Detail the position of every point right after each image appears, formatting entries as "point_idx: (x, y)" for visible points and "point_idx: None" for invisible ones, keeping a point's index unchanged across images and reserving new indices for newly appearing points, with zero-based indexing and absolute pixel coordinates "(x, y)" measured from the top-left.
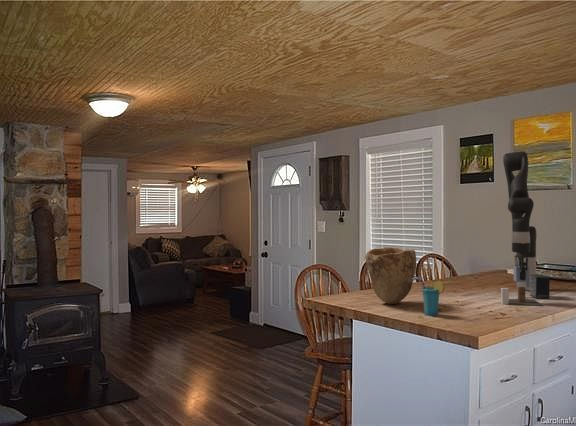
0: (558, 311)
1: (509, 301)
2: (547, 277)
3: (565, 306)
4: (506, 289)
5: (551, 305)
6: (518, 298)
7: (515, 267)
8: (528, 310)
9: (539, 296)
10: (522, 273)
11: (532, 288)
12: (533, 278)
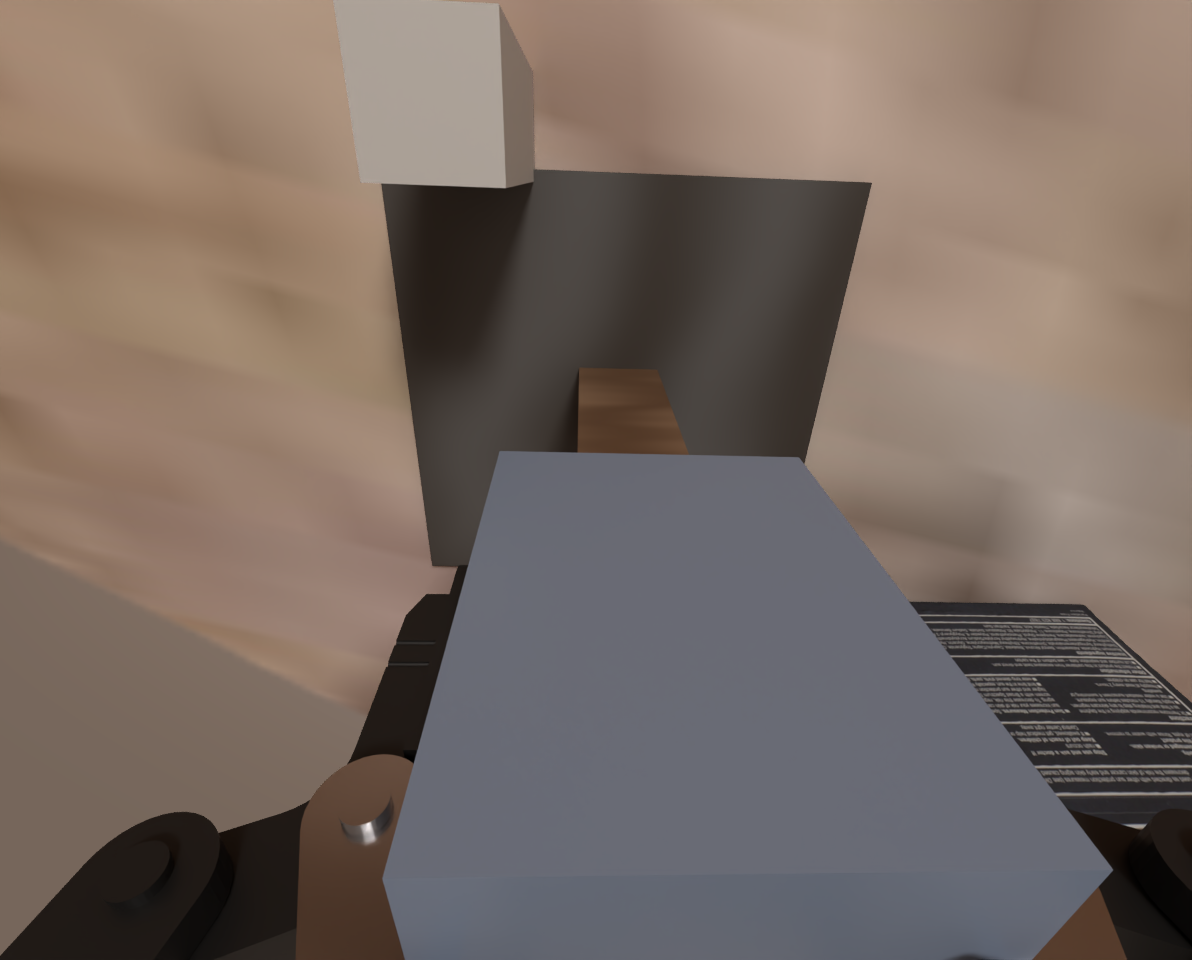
0: (169, 607)
1: (633, 244)
2: None
3: None
4: (358, 128)
5: None
6: (627, 383)
7: (595, 828)
8: (70, 339)
9: None
10: (365, 742)
11: (1051, 676)
12: (1125, 812)
